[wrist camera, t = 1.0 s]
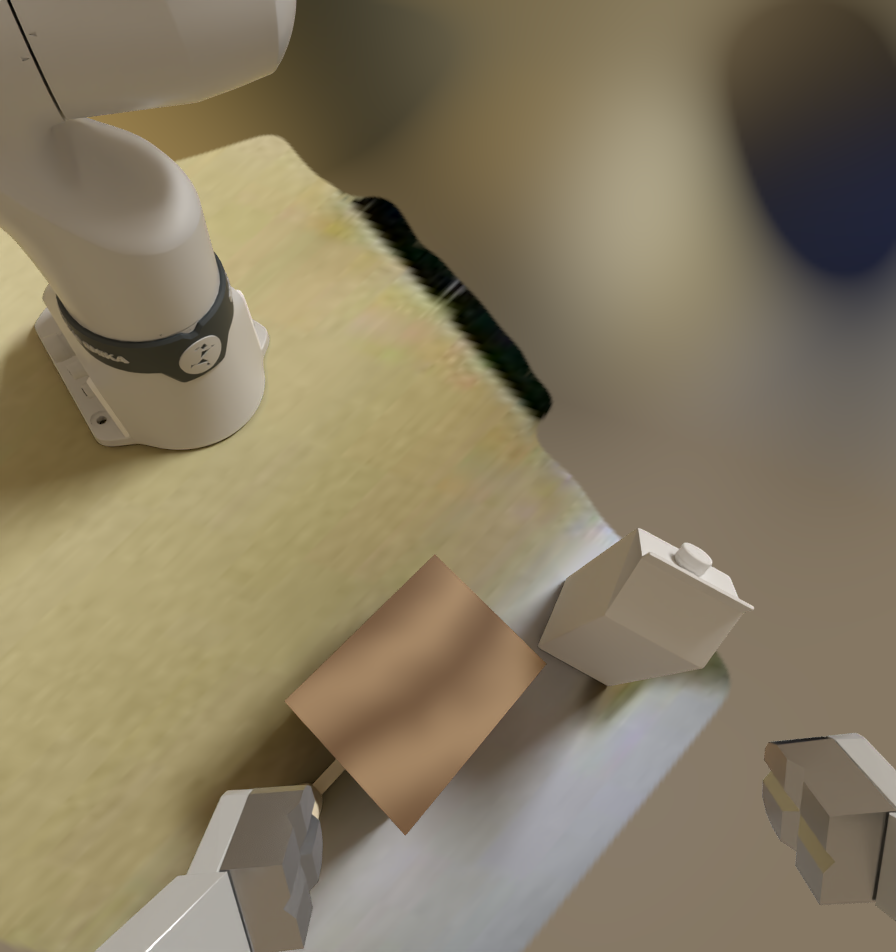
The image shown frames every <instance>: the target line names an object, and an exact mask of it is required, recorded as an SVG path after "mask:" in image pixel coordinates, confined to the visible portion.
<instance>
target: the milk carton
mask: <svg viewBox="0 0 896 952" xmlns="http://www.w3.org/2000/svg"><path fill="white" fill-rule="evenodd" d="M711 565H712V561H711V558H710V557H709V556H708V555H707V554H706V553H705V552H704V551H703V550H701V549H700V548H698V547H696V546H694V545H692V544H690V543H684V544H682V546H681V547H680V549H678V548H676V547H674V546H672V545H670V544H669V543H666V542H665V541H663V540H661V539H659V538H657V537H655V536H653V535H652V534H650V533H648V532H646V531H644V530H642V529H640V528H637V529H635V530H634V531H632V532H631V533H630V534H629V535H627V536H625V537H624V538H623V539H621V540H620V541H618V542H617V543H615V544H614V545H613V546H611V547H610V548H608V549H607V550H606V551H604V552H603V553H601V554H600V555H599V556H597V557H596V558H594V559H593V560H592V561H590V562H589V563H587V564H586V565H585V566H583V567H582V568H580V569H579V570H578V571H576V572H575V573H573V574H572V575H571V576H569V577H568V578H567V579H566V581H565V583H564V585H563V588H562V590H561V593H560V595H559V597H558V600H557V602H556V604H555V607H554V609H553V611H552V614H551V616H550V618H549V621H548V623H547V625H546V628H545V630H544V633H543V635H542V637H541V640H540V642H539V644H538V647H539V648H540V649H542V650H544V651H545V652H547V653H549V654H551V655H553V656H554V657H556V658H558V659H560V660H562V661H563V662H565V663H567V664H569V665H571V666H572V667H574V668H576V669H578V670H580V671H581V672H583V673H585V674H587V675H589V676H590V677H592V678H594V679H596V680H598V681H599V682H601V683H603V684H605V685H607V686H612V685H617V684H622V683H627V682H633V681H638V680H643V679H648V678H653V677H659V676H664V675H669V674H674V673H679V672H685V671H690V670H695V669H700V668H704V666H705V665H706V664H707V662H708V661H709V659H710V658H711V657H712V655H713V654H714V653H715V651H716V650H717V648H718V647H719V645H720V644H721V643H722V642H723V640H724V639H725V637H726V636H727V635H728V633H729V632H730V631H731V629H732V628H733V627H734V625H735V624H736V622H737V621H738V620H739V618H740V617H741V616H742V614H743V613H746V612H749V611H752V610H754V607H753V606H752V605H750V604H748V603H746V602H744V601H742V600H740V599H739V598H738V595H737V593H736V591H735V588H734V586H733V584H732V581H731V579H730V577H729V576H727V575H726V574H724V573H722V572H721V571H719V570H717V569H715V568H713V567H711Z"/></svg>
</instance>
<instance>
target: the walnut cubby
mask: <svg viewBox="0 0 896 952" xmlns="http://www.w3.org/2000/svg"><path fill="white" fill-rule="evenodd" d="M545 665H546V663H545V662H544V661H543V660H542V659H541V658H540V657H539V656H538V655H537V654H536V653H535V652H534V651H533V650H532V649H531V648H530V647H529V646H528V645H527V644H526V643H525V642H524V641H523V640H522V639H521V638H520V637H519V636H518V635H517V634H516V633H515V632H514V631H513V630H512V629H511V628H510V627H509V626H508V625H507V624H505V623H504V622H503V621H502V620H501V619H500V618H499V617H498V616H497V615H496V614H495V613H494V612H493V611H492V610H491V609H490V608H489V607H488V606H487V605H486V604H485V603H484V602H483V601H482V600H481V599H480V598H479V597H478V596H477V595H476V594H475V593H474V592H473V591H472V590H471V589H470V588H469V587H468V586H467V585H466V584H465V583H464V582H463V581H462V580H461V579H460V578H459V577H458V576H457V575H456V574H454V573H453V572H452V571H451V570H450V569H449V568H448V567H447V566H446V565H445V564H444V563H443V562H442V561H441V560H440V559H439V558H438V557H437V556H436V555H434V556H433V557H432V558H431V559H430V560H428V561H427V562H426V563H425V564H424V565H423V566H422V567H421V568H420V569H419V570H418V571H417V572H416V573H415V574H414V575H413V576H412V577H411V578H410V579H409V580H408V581H407V582H406V583H405V584H404V585H403V586H402V587H401V588H400V589H399V590H398V591H397V592H396V593H395V594H394V595H393V596H392V597H391V598H390V599H389V600H387V601H386V602H385V603H384V604H383V605H382V606H381V607H380V608H379V609H378V610H377V611H376V612H375V613H374V614H373V615H372V616H371V617H370V618H369V619H368V620H367V621H366V622H365V623H364V624H363V625H362V626H361V627H360V628H359V629H358V630H357V631H356V632H355V633H354V634H353V635H352V636H351V637H350V638H349V639H348V640H347V641H345V642H344V643H343V644H342V645H341V646H340V647H339V648H338V649H337V650H336V651H335V652H334V653H333V654H332V655H331V656H330V657H329V658H328V659H327V660H326V661H325V662H324V663H323V664H322V665H321V666H320V667H319V668H318V669H317V670H316V671H315V672H314V673H313V674H312V675H311V676H310V677H309V678H308V679H307V680H306V681H304V682H303V683H302V684H301V685H300V686H299V687H298V688H297V689H296V690H295V691H294V692H293V693H292V694H291V695H290V696H289V697H288V698H287V699H286V700H285V703H286V704H287V705H288V706H289V707H290V708H291V709H292V710H293V711H294V713H295V714H296V715H297V716H298V717H299V718H300V719H301V720H302V721H303V723H304V724H305V725H306V726H307V727H308V728H309V729H310V730H311V731H312V733H313V734H314V735H315V736H316V737H317V738H318V739H319V740H320V741H321V743H322V744H323V745H324V746H325V747H326V748H327V749H328V750H329V751H330V753H331V754H332V755H333V756H334V757H335V758H336V759H337V760H338V761H339V763H340V764H341V765H342V766H343V767H344V768H345V769H346V770H347V771H348V773H349V774H350V775H351V776H352V777H353V778H354V779H355V780H356V781H357V783H358V784H359V785H360V786H361V787H362V788H363V789H364V790H365V791H366V792H367V794H368V795H369V796H370V797H371V798H372V799H373V800H374V801H375V802H376V804H377V805H378V806H379V807H380V808H381V809H382V810H383V811H384V812H385V814H386V815H387V816H388V817H389V818H390V819H391V820H392V821H393V822H394V824H395V825H396V826H397V827H398V828H399V829H400V830H401V831H402V832H403V834H404V835H405V836H406V834H407V833H408V832H409V831H410V829H411V828H412V827H413V826H414V825H415V823H416V822H417V821H418V820H419V818H420V817H421V816H422V815H423V814H424V812H425V811H426V810H427V809H428V808H429V806H430V805H431V804H432V803H433V801H434V800H435V799H436V798H437V797H438V795H439V794H440V793H441V792H442V791H443V789H444V788H445V787H446V786H447V784H448V783H449V782H450V781H451V780H452V778H453V777H454V776H455V775H456V773H457V772H458V771H459V770H460V769H461V767H462V766H463V765H464V764H465V763H466V761H467V760H468V759H469V758H470V756H471V755H472V754H473V753H474V752H475V750H476V749H477V748H478V747H479V746H480V744H481V743H482V742H483V741H484V739H485V738H486V737H487V736H488V735H489V733H490V732H491V731H492V730H493V728H494V727H495V726H496V725H497V724H498V722H499V721H500V720H501V719H502V718H503V716H504V715H505V714H506V713H507V711H508V710H509V709H510V708H511V707H512V705H513V704H514V703H515V702H516V701H517V699H518V698H519V697H520V696H521V694H522V693H523V692H524V691H525V690H526V688H527V687H528V686H529V685H530V683H531V682H532V681H533V680H534V679H535V677H536V676H537V675H538V674H539V673H540V671H541V670H542V669H543V668H544V666H545Z"/></svg>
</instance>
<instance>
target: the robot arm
mask: <svg viewBox="0 0 896 952" xmlns="http://www.w3.org/2000/svg"><path fill="white" fill-rule="evenodd" d="M295 10H296V0H0V228H2V229H3V230H4V231H5V232H6V233H8V234H9V235H10V236H11V237H12V238H13V239H14V240H15V241H16V242H17V244H18V245H19V246H20V247H21V248H22V250H23V251H24V252H25V253H26V254H27V256H28V257H29V258H30V259H31V261H32V262H33V263H34V264H35V266H36V267H37V268H38V270H39V271H40V272H41V274H42V275H43V276H44V277H45V279H46V280H47V282H48V283H49V284H48V285H47V287H46V288H45V291H44V293H43V297H42V299H43V301H44V303H45V305H46V306H47V308H46V309H45V310H44V311H43V312H42V313H41V315H40V316H39V318H38V319H37V321H36V323H35V330H36V332H37V334H38V336H39V338H40V340H41V342H42V343H43V345H44V347H45V349H46V351H47V352H48V354H49V356H50V358H51V360H52V362H53V363H54V365H55V367H56V369H57V371H58V372H59V374H60V376H61V378H62V380H63V381H64V383H65V385H66V387H67V389H68V390H69V392H70V394H71V396H72V398H73V399H74V401H75V403H76V405H77V407H78V408H79V410H80V412H81V414H82V416H83V417H84V419H85V421H86V423H87V425H88V427H89V428H90V430H91V432H92V434H93V436H94V437H95V439H96V441H97V442H98V443H100V444H101V445H104V446H122V445H130V444H144V445H149V446H154V447H158V448H164V449H174V450H184V449H194V448H199V447H204V446H207V445H211V444H213V443H216V442H218V441H221V440H223V439H225V438H227V437H228V436H230V435H232V434H233V433H235V432H236V431H238V430H239V429H240V428H241V427H242V426H244V425H245V424H246V423H247V422H248V421H249V419H250V418H251V417H252V416H253V414H254V413H255V411H256V410H257V408H258V406H259V404H260V402H261V400H262V397H263V393H264V387H265V374H264V367H263V358H264V355H265V353H266V350H267V348H268V344H269V335H268V332H267V330H266V328H265V327H264V326H263V325H261V324H260V323H258V322H256V321H255V320H253V319H252V318H251V315H250V312H249V309H248V306H247V303H246V300H245V298H244V295H243V294H242V292H241V291H240V290H235V289H234V288H233V287H231V286H230V283H229V279H228V277H227V274H226V273H225V270H224V268H223V266H222V263H221V261H220V260H219V258H218V256H217V255H216V254H215V252H214V251H213V248H212V244H211V240H210V236H209V233H208V229H207V225H206V221H205V218H204V214H203V210H202V207H201V203H200V199H199V196H198V193H197V191H196V189H195V187H194V185H193V184H192V182H191V180H190V179H189V178H188V176H187V175H186V174H185V172H184V171H183V170H182V169H181V168H180V167H179V166H178V165H177V164H176V163H175V162H174V161H173V160H172V159H170V158H169V157H168V156H167V155H166V154H165V153H163V152H162V151H161V150H159V149H158V148H156V147H155V146H154V145H153V144H151V143H150V142H148V141H147V140H145V139H143V138H141V137H140V136H137V135H135V134H133V133H131V132H128V131H125V130H123V129H120V128H117V127H114V126H111V125H107V124H104V123H101V122H98V121H95V120H92V119H89V118H87V117H92V116H99V115H107V114H114V113H122V112H129V111H137V110H144V109H151V108H159V107H167V106H174V105H182V104H189V103H196V102H199V101H202V100H205V99H208V98H211V97H213V96H216V95H219V94H222V93H225V92H227V91H230V90H233V89H236V88H238V87H241V86H243V85H245V84H248V83H250V82H253V81H255V80H257V79H260V78H262V77H264V76H267V75H269V74H272V73H273V72H274V71H275V70H276V69H277V67H278V65H279V63H280V62H281V60H282V58H283V56H284V53H285V51H286V48H287V46H288V43H289V40H290V36H291V33H292V29H293V23H294V17H295ZM102 420H107V421H106V423H104V424H99V423H100V422H101V421H102ZM764 761H765V762H766V764H767V765H768V767H769V768H770V770H771V771H770V773H769V774H768V775H767V776H766V777H765V778H764V780H763V790H762V792H763V793H762V797H763V801H764V805H765V810H766V814H767V816H768V818H769V821H770V823H771V825H772V828H773V829H774V831H775V832H776V834H777V836H778V838H779V839H780V841H781V842H783V843H784V844H786V845H787V846H789V847H790V848H792V849H793V850H795V851H796V852H797V853H796V867H797V869H798V870H799V872H800V874H801V875H802V877H803V879H804V880H805V882H806V883H807V885H808V886H809V888H810V890H811V891H812V893H813V895H814V896H815V898H816V900H817V901H818V903H819V904H820V905H831V904H848V903H849V904H850V903H869V902H876V903H875V905H876V906H877V907H878V908H879V909H881V910H882V911H883V912H884V913H886V914H887V915H888V916H889V917H891V918H892V919H893V920H895V921H896V770H895V769H894V768H893V767H892V766H891V765H890V764H889V763H888V762H887V761H886V760H885V759H884V758H883V756H882V755H880V753H879V752H878V751H877V750H876V749H875V748H874V747H873V746H872V745H871V744H870V743H869V742H868V741H867V740H866V739H865V738H864V737H863V736H861V735H859V734H857V733H851V734H841V735H832V736H826V737H813V738H803V739H794V740H783V741H775V742H768V744H767V746H766V748H765V755H764ZM314 803H315V799H314V795H313V792H312V788H311V786H309V785H296V786H280V787H265V788H254V789H244V790H227V791H226V792H225V793H224V794H223V795H222V796H221V798H220V799H219V802H218V804H217V806H216V808H215V810H214V813H213V815H212V817H211V819H210V822H209V824H208V826H207V828H206V831H205V833H204V835H203V837H202V840H201V842H200V844H199V846H198V849H197V851H196V853H195V855H194V858H193V860H192V862H191V864H190V867H189V869H188V871H187V873H186V875H181V876H177V877H176V878H174V879H173V880H172V881H171V882H170V883H169V884H168V885H167V886H166V887H165V888H163V889H162V890H161V891H160V892H159V893H158V894H157V895H156V896H155V897H154V898H153V899H151V900H150V901H149V902H148V903H147V904H146V905H145V906H144V907H143V908H142V909H140V910H139V911H138V912H137V913H136V914H135V915H134V916H133V917H132V918H131V919H130V920H128V921H127V922H126V923H125V924H124V925H123V926H122V927H121V928H120V929H119V930H118V931H116V932H115V933H114V934H113V935H112V936H111V937H110V938H109V939H108V940H107V941H105V942H104V943H103V944H102V945H101V946H100V947H99V948H98V949H97V950H96V951H95V952H277V951H286V950H294V949H303V948H304V945H305V940H306V936H307V931H308V926H309V922H310V917H311V913H312V908H313V906H312V902H311V897H310V893H309V891H310V890H311V889H312V888H313V887H314V885H315V884H316V883H317V882H318V880H319V875H320V870H321V865H322V850H323V841H322V830H321V826H320V821H319V820H318V819H317V818H316V817H315V816H314V815H312V811H313V807H314Z"/></svg>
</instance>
